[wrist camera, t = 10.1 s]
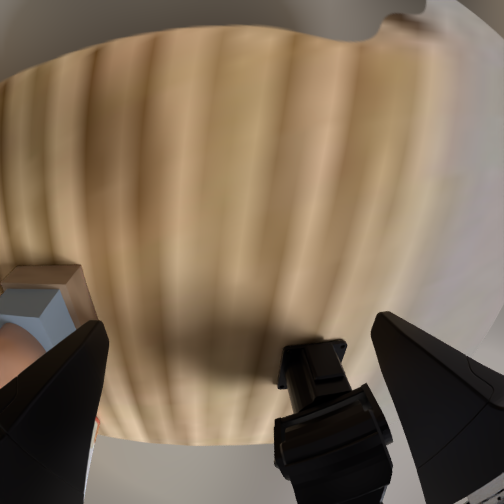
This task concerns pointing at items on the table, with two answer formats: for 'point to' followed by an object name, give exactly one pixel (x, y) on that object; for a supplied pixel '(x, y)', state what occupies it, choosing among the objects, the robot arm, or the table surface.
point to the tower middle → (37, 314)
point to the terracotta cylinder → (16, 351)
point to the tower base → (57, 287)
